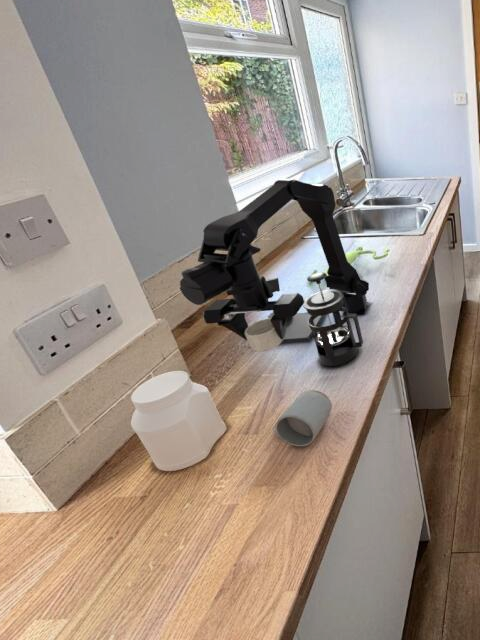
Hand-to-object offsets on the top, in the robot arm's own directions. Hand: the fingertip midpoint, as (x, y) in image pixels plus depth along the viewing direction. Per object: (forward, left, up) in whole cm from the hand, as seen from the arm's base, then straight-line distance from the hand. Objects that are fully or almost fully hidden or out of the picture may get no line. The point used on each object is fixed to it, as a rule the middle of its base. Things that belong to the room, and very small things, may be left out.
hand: (267, 339), depth 91 cm
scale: (+6, -19, -11) cm, 23 cm away
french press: (-13, -6, -11) cm, 17 cm away
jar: (+9, +19, -11) cm, 23 cm away
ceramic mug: (-12, +18, -11) cm, 24 cm away
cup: (0, 0, -1) cm, 1 cm away
